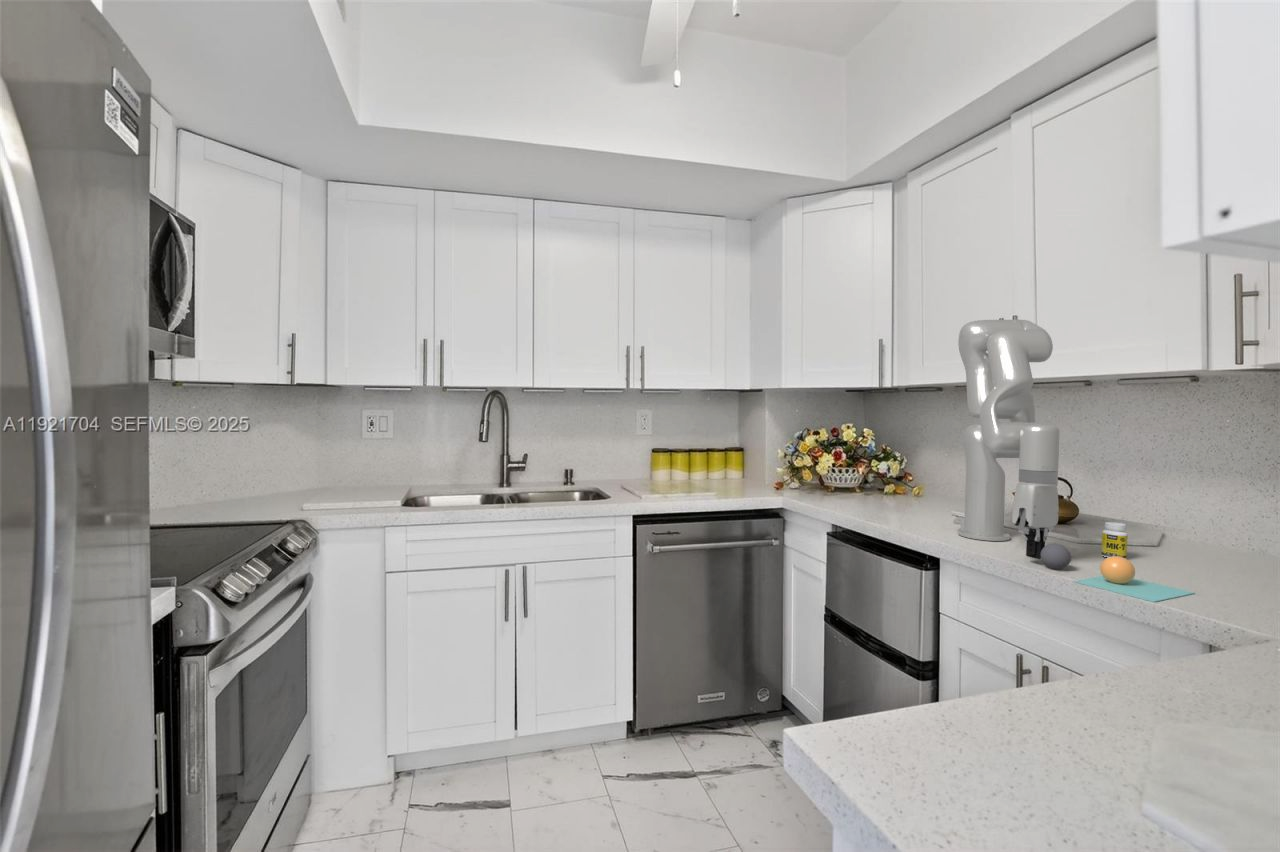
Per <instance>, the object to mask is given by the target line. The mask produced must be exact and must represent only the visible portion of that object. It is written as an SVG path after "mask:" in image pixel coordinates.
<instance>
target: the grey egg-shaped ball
mask: <svg viewBox="0 0 1280 852" xmlns="http://www.w3.org/2000/svg"><path fill="white" fill-rule="evenodd" d="M1040 560H1041V561H1042V562H1043V564H1044V565H1045V566H1047V567H1049V568H1050V569H1053V570H1062V569H1064V568H1067V567H1069V564H1071V561H1072V556H1071V552H1070V551H1069V549H1068V548H1066V547H1065V546H1064V545H1063V544H1060V543H1048V544H1045V547H1044V548H1043V549H1042V551H1041V559H1040Z"/></svg>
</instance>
